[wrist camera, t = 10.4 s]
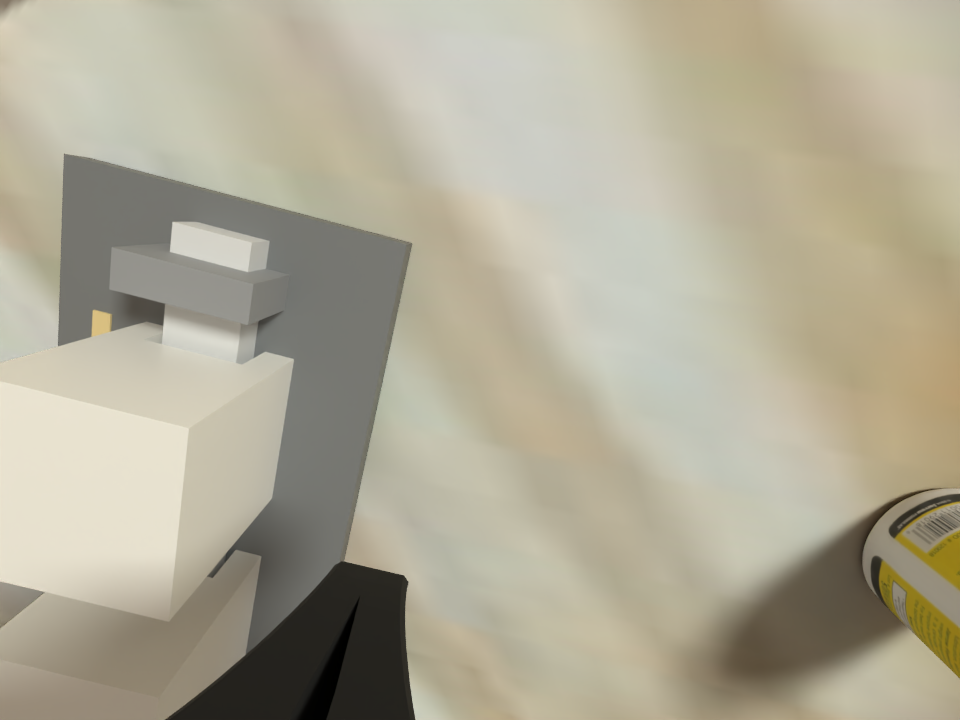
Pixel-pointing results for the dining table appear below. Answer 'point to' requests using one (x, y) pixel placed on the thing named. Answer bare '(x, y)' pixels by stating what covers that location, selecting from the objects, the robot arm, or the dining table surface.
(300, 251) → the rail
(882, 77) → the dining table surface
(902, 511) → the supplement bottle
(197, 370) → the block
